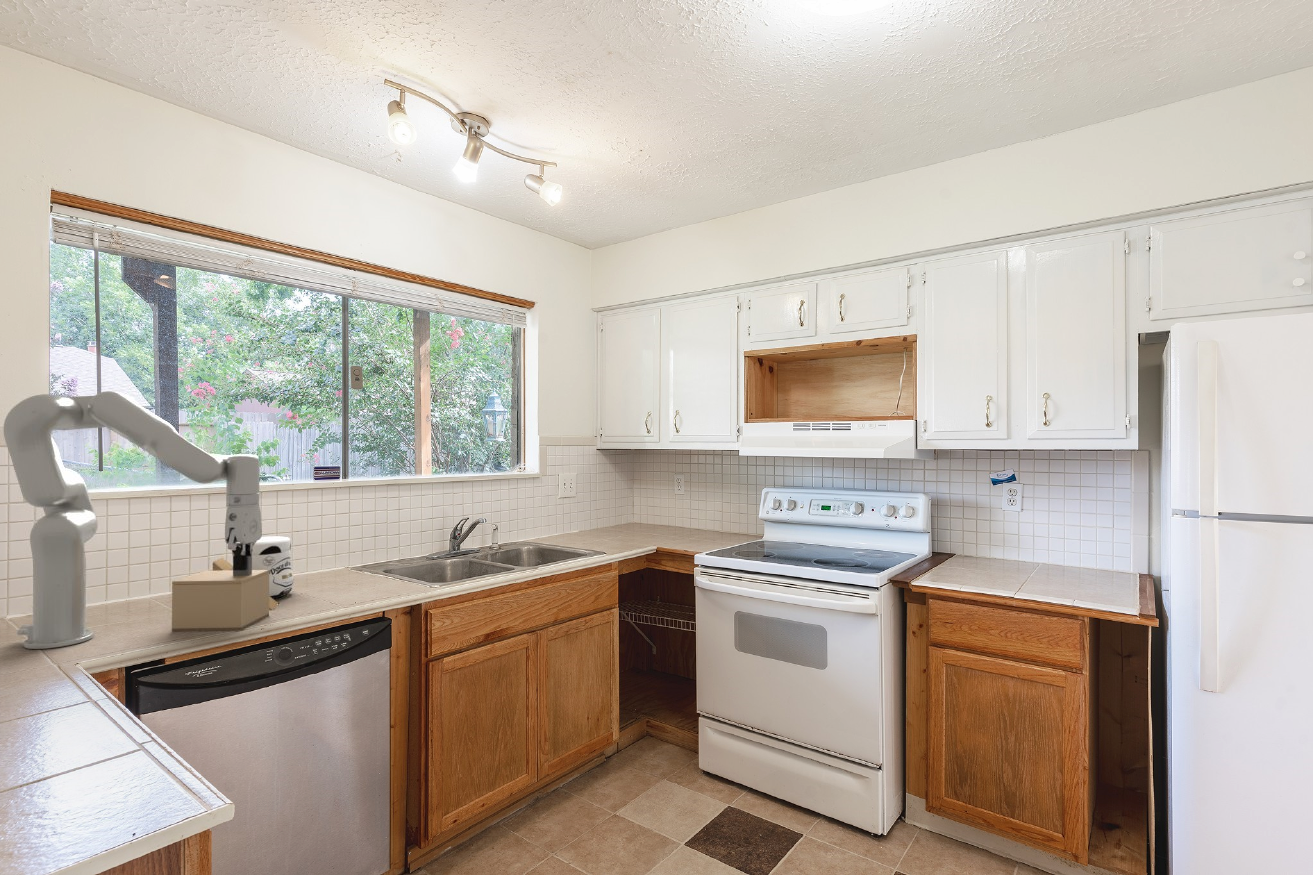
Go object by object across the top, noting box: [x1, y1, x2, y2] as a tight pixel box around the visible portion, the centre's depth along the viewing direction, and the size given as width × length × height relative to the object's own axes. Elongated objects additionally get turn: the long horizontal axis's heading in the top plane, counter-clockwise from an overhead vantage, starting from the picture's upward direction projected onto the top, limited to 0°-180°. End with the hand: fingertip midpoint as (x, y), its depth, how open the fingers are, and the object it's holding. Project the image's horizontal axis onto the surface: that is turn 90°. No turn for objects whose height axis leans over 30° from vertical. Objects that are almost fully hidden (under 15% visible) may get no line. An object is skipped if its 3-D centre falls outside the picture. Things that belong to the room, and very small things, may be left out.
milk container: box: [237, 536, 295, 599], centre depth 205 cm, size 17×17×18 cm
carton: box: [171, 573, 270, 633], centre depth 175 cm, size 17×14×12 cm
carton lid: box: [171, 556, 269, 585], centre depth 175 cm, size 17×14×6 cm
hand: (242, 568), depth 176 cm, fingers closed on carton lid
